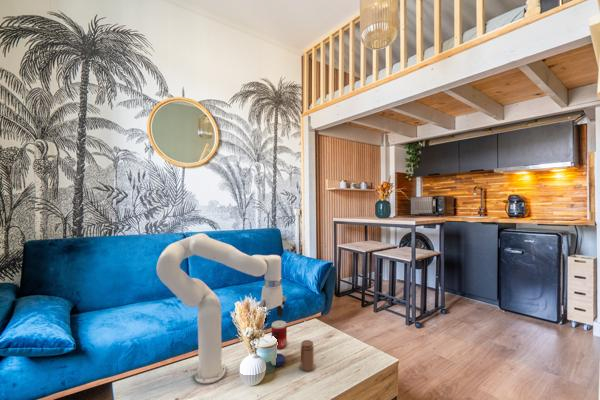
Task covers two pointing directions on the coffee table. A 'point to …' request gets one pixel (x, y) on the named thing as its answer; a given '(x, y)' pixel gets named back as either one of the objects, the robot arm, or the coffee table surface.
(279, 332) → the canned food
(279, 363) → the lid
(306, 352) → the jar
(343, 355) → the coffee table surface
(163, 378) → the coffee table surface
